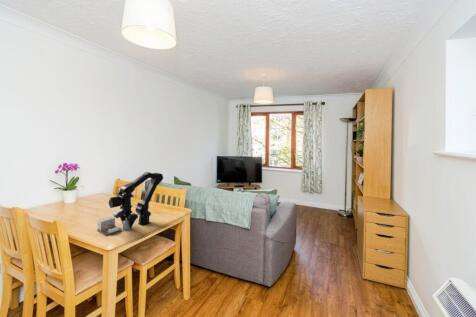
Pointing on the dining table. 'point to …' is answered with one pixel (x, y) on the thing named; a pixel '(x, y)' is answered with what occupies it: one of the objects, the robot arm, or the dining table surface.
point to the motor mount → (107, 226)
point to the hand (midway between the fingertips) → (127, 226)
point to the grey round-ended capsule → (126, 225)
